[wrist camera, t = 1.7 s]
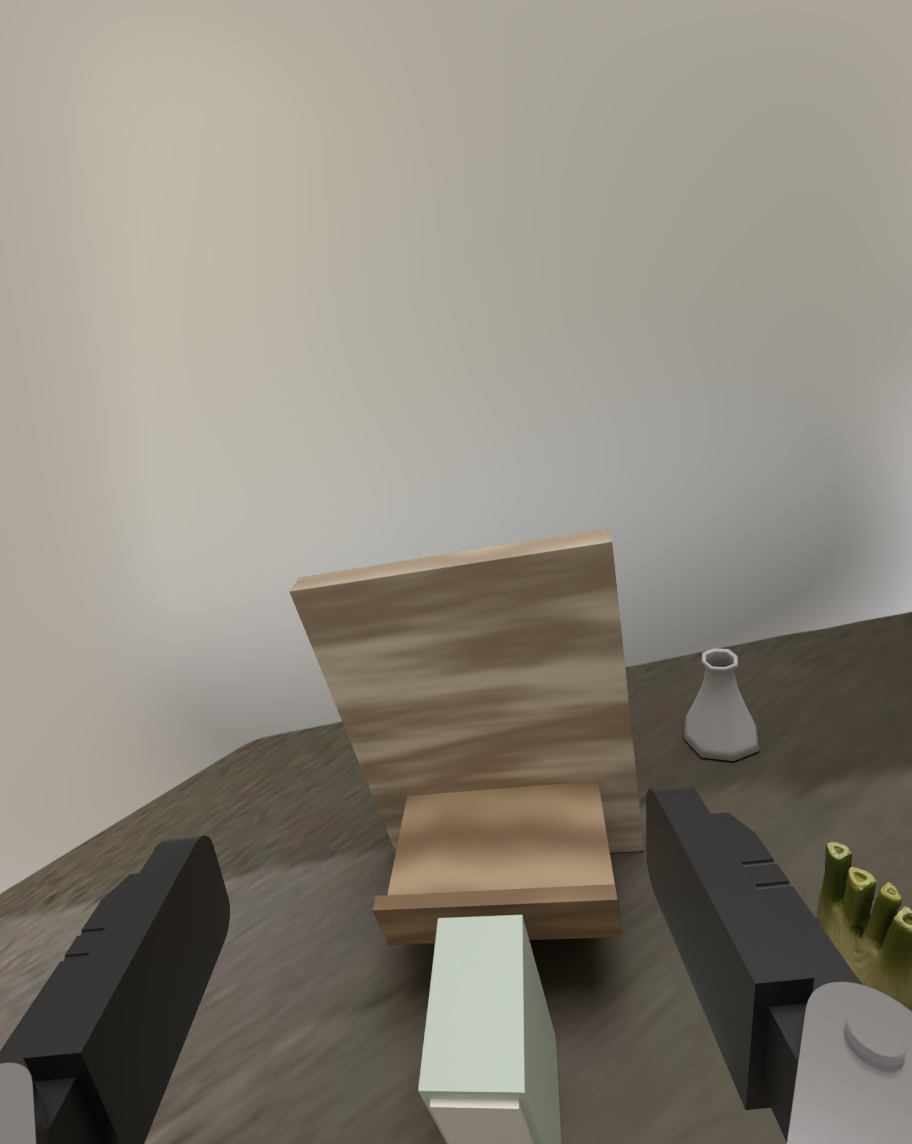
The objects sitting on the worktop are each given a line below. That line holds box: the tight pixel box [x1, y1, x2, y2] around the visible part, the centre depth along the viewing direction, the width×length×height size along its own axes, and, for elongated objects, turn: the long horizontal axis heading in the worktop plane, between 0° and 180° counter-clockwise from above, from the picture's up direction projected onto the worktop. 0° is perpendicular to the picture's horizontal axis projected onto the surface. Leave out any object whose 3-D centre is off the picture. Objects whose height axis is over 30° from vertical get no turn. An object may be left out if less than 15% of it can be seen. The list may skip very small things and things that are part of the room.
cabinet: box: [418, 915, 561, 1144], centre depth 33 cm, size 8×5×14 cm, turn 175°
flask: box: [684, 649, 759, 761], centre depth 56 cm, size 7×7×10 cm
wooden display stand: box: [290, 529, 644, 945], centre depth 43 cm, size 18×22×30 cm
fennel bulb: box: [816, 842, 912, 1012], centre depth 35 cm, size 6×5×12 cm
